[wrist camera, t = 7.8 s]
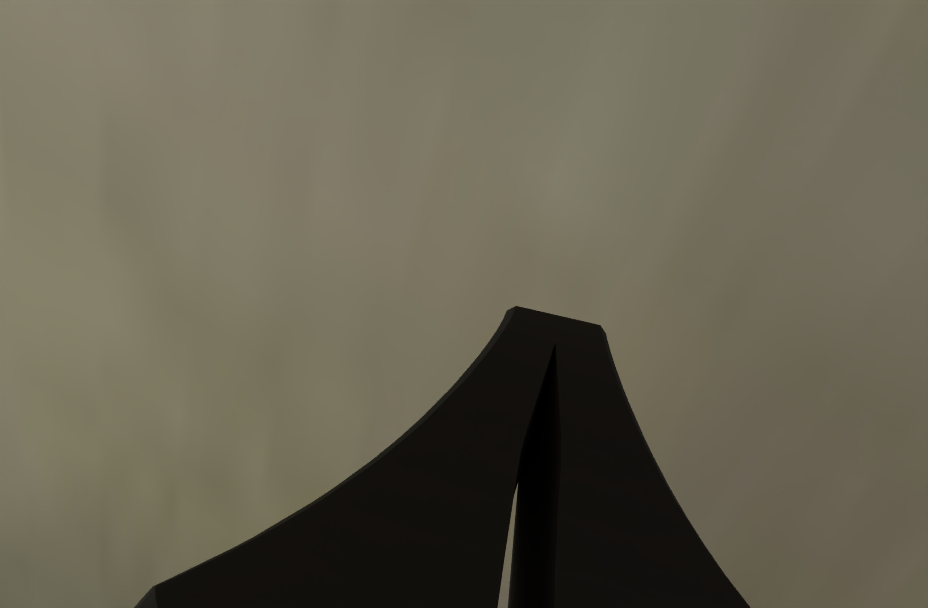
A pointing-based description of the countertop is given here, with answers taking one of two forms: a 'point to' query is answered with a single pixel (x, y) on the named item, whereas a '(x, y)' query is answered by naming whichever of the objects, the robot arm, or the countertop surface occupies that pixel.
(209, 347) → the countertop surface
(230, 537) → the countertop surface
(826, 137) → the countertop surface
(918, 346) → the countertop surface
